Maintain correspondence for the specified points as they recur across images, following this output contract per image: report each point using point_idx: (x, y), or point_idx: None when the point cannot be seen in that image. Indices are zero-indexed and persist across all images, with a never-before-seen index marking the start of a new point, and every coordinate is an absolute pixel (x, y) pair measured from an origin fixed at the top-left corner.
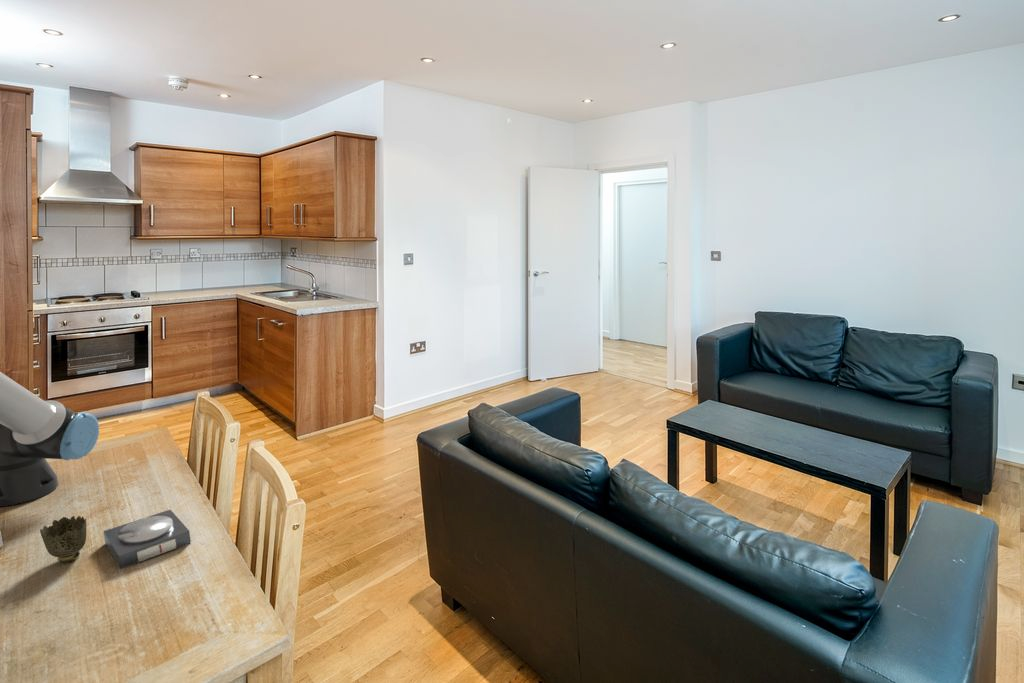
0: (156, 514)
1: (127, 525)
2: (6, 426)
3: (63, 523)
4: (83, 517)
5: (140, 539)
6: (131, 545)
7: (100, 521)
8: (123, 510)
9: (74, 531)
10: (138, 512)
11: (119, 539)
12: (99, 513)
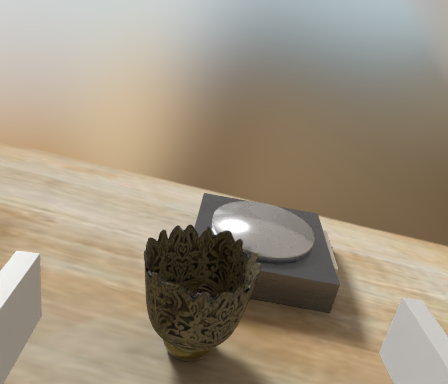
0: (203, 204)
1: (222, 231)
2: None
3: (151, 257)
4: (193, 227)
5: (310, 244)
6: (307, 261)
7: (56, 253)
8: (58, 222)
9: (256, 260)
10: (101, 218)
11: (265, 258)
12: (10, 240)
